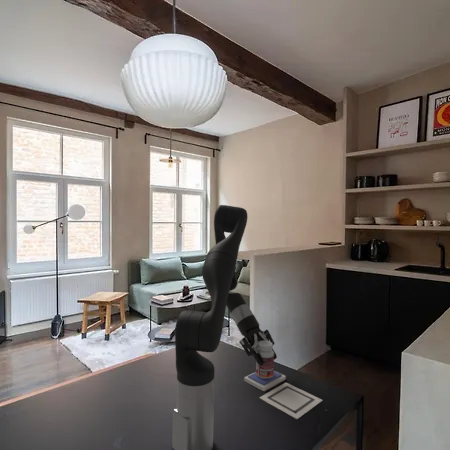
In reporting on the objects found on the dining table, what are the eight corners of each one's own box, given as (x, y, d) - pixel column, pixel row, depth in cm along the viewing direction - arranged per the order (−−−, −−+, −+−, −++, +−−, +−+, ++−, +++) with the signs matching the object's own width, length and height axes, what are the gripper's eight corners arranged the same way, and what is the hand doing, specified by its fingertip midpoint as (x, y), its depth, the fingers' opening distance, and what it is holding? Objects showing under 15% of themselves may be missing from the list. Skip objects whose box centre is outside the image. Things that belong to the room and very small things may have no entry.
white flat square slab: (297, 419, 88) (297, 418, 88) (259, 398, 98) (259, 397, 98) (322, 400, 98) (322, 399, 98) (285, 383, 108) (285, 382, 108)
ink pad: (263, 391, 102) (264, 386, 102) (244, 380, 109) (244, 376, 109) (285, 379, 110) (285, 374, 110) (266, 370, 117) (266, 365, 117)
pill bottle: (277, 376, 109) (277, 344, 108) (263, 381, 105) (264, 348, 105) (265, 369, 114) (266, 338, 114) (252, 373, 110) (253, 342, 110)
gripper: (236, 318, 110) (261, 363, 101) (262, 310, 120) (287, 351, 111) (225, 329, 114) (249, 373, 105) (252, 320, 124) (275, 360, 115)
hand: (268, 361), depth 108 cm, fingers closed on pill bottle, 6 cm apart
